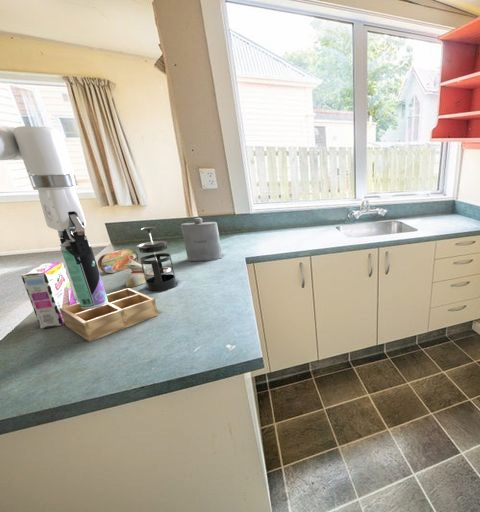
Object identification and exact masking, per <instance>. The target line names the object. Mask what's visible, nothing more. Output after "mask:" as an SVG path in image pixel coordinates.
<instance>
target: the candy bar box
mask: <svg viewBox="0 0 480 512" xmlns="http://www.w3.org/2000/svg"><path fill="white" fill-rule="evenodd" d="M20 277H21V281H22V283H23V285H24V288H25V290H26V293H27V296H28V299H29V301H30V304H31V306H32V309H33V312H34V315H35V318H36V319H37V322H38V325H39V328H40V329H41V330H43V329H49V328H56V327H61V326H64V324H65V322H64V319H63V317H62V314H61V311H60V308H64V307H66V306H70V305H73V304H76V303H77V301H76V297H75V295H74V292H73V289H72V286H71V283H70V279H69V277H68V273H67V270H66V267H65V264H64V262H63V261H60V262H59V261H58V262H49V263H42V264H40V265H38V266H36V267H34V268H33V269H31V270H28V271H27V272H25V273H23V274H21V275H20Z"/></svg>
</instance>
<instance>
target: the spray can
mask: <svg viewBox="0 0 480 512" xmlns="http://www.w3.org/2000/svg"><path fill="white" fill-rule="evenodd" d="M67 236H68V235H67ZM69 242H71V240H70V238H69V236H68V238H67V239H66V242H64V243H63V244H61V243H60V245H59V246H60V252H61V254H62V257H63V260H64V262H65V265H66V268H67V271H68V274H69V277H70V280H71V283H72V285H73V288H74V292H75V295H76V298H77V300H78V303H80V306H81V308H82V309H93V308H97V307H100V306H103V305H105V304H107V303H108V299H107V296H106V295H107V292H106V289H105V286H104V283H103V280H102V277H101V273H100V269H99V266H98V263H97V260H96V257H95V254H94V251H93V248H92V244H91V243H90V241H89V240H88V244H89V247H90V250H91V255H86V256H81V257H74V255H73V252H72V249H71V246H70V243H69Z"/></svg>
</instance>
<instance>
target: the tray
mask: <svg viewBox="0 0 480 512" xmlns="http://www.w3.org/2000/svg"><path fill="white" fill-rule="evenodd" d="M106 296H107V299H108V303H107V304H105V305H103V306H100V307H97V308H93V309H82V308H81V306H80V303H79V302H76V304H73V305H70V306H66V307H64V308H60V311H61V314H62V317H63V319H64V322H65V323H64V324H65V326H66V327H67V328H68V329H70V330H72V331H73V332H75V334H77V335H79V336H80V337H82V338H83V339H84V340H86V341H87V342H89V343H90V342H94V341H96V340H99V339H101V338H103V337H107V336H109V335H112V334H114V333H116V332H119V331H122V330H124V329H126V328H129V327H132V326H135V325H137V324H139V323H143V322H145V321H147V320H150V319H152V318H156V317H158V316H159V310H158V307H157V304H156V300H155V299H156V298H153V297H152V296H148V295H146V294H144V293H142V292H140V291H137V290H135V289H132V288H131V287H130V288H127V287H126V288H123V289H120V290H117V291H113V292H110V293H106Z"/></svg>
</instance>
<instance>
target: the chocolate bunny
mask: <svg viewBox="0 0 480 512" xmlns="http://www.w3.org/2000/svg"><path fill="white" fill-rule="evenodd" d="M127 267H128V268H127V269H130V270H131V272H130V275H128V276H127V277H126V280H125V287H126V289H127V288H130V289H131V288H134V287H138V286H141V285H144V284H146V280H145V276H144V273H143V269H142V265H141V263H139V262H135V261H133V260H129V263H128V264H127ZM143 267H144V270H145V272H146V271H147V269H146V267H145V264H143Z"/></svg>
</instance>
